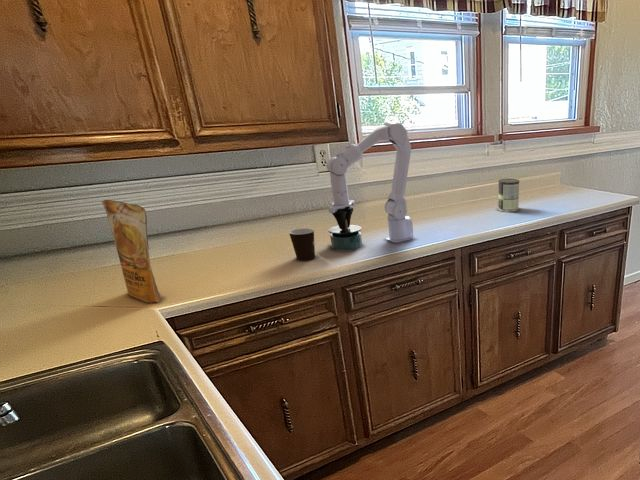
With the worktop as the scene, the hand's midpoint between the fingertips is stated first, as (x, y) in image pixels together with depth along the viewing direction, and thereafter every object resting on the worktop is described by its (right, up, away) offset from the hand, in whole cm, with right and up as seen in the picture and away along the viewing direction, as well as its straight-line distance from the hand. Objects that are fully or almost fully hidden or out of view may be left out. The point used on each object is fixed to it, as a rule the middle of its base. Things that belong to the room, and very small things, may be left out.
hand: (344, 228), depth 200 cm
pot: (0, -7, +4) cm, 8 cm away
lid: (0, -1, 0) cm, 1 cm away
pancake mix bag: (-50, -32, -41) cm, 72 cm away
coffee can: (+67, +25, +61) cm, 94 cm away
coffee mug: (-12, -13, -7) cm, 19 cm away
